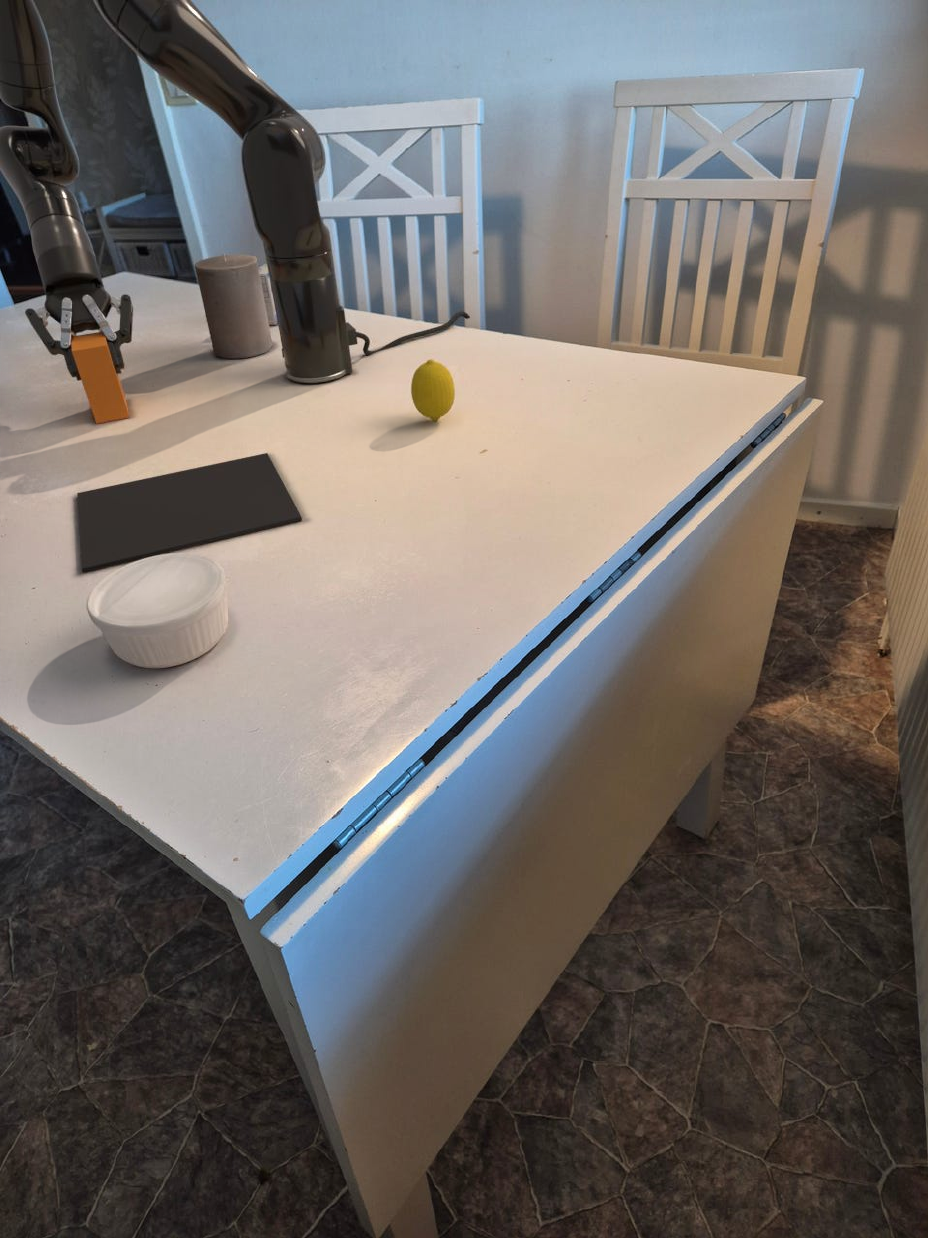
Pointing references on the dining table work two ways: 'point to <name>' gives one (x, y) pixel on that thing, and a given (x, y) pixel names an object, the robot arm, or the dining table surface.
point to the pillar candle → (234, 305)
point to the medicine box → (268, 294)
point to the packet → (99, 377)
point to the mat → (181, 511)
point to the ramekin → (162, 609)
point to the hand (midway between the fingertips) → (98, 373)
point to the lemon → (432, 390)
